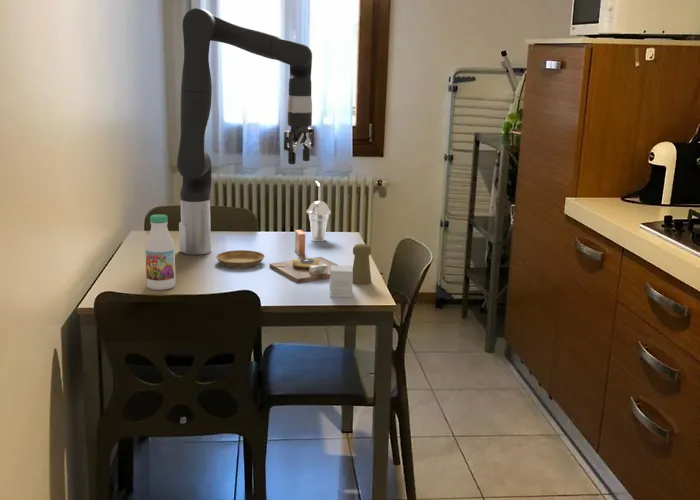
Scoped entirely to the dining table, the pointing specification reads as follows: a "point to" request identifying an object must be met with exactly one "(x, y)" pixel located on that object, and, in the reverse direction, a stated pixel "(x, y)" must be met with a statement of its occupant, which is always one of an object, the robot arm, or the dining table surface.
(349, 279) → the product box
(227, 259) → the plant saucer
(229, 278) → the dining table surface
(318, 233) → the cup with straw
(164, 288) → the milk bottle
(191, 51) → the robot arm
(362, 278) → the pepper mill
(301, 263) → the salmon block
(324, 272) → the brown wooden cutting board
